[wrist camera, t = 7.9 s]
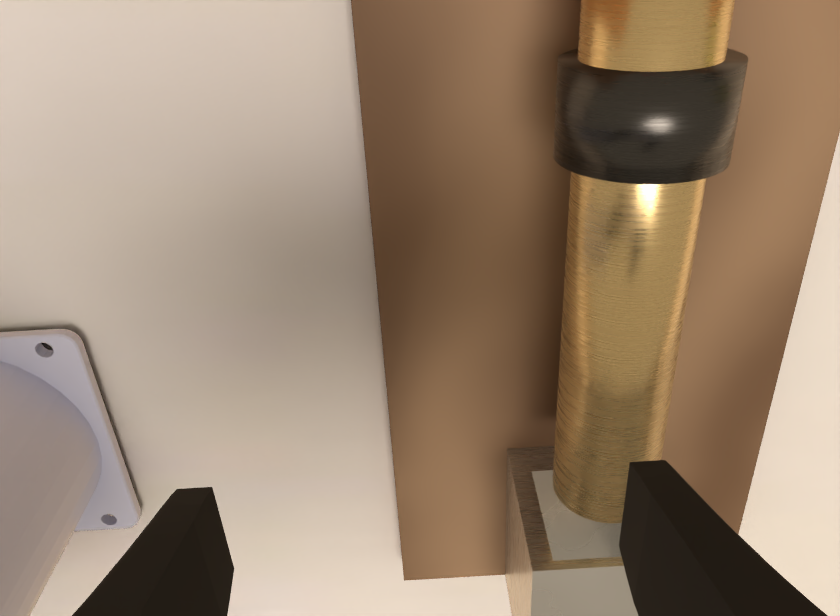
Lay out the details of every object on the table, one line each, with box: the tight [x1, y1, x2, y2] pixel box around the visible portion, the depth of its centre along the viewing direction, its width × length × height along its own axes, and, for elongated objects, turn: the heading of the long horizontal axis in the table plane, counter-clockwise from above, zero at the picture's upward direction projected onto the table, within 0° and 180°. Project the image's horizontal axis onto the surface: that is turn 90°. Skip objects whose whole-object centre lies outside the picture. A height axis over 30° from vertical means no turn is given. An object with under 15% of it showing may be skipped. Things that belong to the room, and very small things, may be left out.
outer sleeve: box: [505, 446, 638, 616], centre depth 22 cm, size 5×6×5 cm
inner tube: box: [553, 0, 748, 523], centre depth 16 cm, size 4×16×4 cm, turn 3°
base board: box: [351, 0, 840, 580], centre depth 19 cm, size 12×27×1 cm, turn 3°
